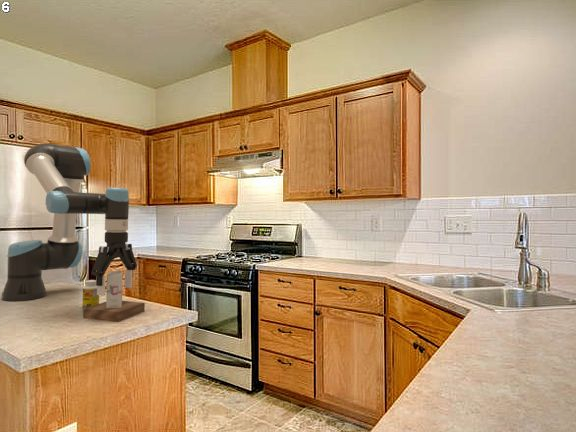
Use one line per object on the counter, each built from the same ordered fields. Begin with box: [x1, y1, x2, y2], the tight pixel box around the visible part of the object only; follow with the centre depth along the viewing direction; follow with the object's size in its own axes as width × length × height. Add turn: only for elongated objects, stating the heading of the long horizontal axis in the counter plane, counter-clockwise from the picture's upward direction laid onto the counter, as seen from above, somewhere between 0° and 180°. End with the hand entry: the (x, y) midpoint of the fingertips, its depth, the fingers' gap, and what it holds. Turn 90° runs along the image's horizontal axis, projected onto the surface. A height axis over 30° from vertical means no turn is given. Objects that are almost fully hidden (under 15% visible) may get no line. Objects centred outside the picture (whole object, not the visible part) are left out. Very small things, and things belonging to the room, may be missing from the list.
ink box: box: [105, 270, 124, 309], centre depth 132 cm, size 9×5×12 cm, turn 22°
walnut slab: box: [82, 300, 146, 323], centre depth 133 cm, size 14×14×4 cm
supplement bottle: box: [82, 279, 100, 309], centre depth 141 cm, size 6×6×10 cm
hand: (115, 291), depth 133 cm, fingers open, 13 cm apart
